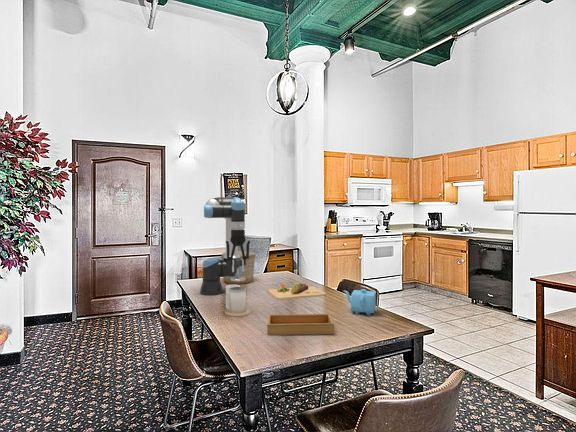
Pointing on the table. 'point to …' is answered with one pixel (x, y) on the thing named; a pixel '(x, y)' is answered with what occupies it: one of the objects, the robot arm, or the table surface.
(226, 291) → the mug
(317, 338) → the table surface
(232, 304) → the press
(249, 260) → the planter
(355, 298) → the teapot
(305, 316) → the tray
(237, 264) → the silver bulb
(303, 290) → the cutting board
